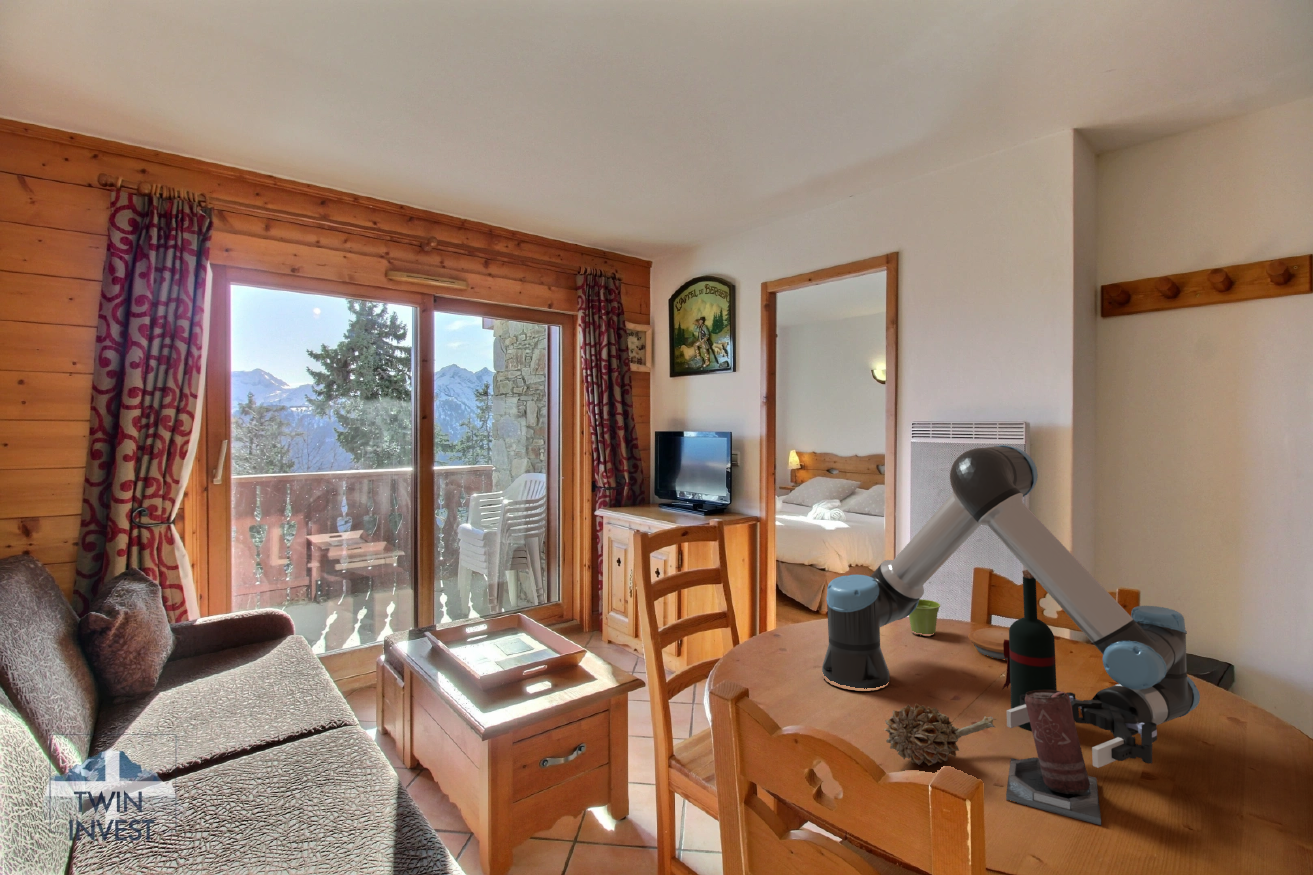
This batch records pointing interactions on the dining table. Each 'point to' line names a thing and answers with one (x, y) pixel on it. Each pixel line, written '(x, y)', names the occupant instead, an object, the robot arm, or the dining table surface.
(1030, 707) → the can
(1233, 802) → the dining table surface
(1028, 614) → the wine bottle
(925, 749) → the pine cone
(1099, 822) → the cup holder
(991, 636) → the pie
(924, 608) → the plant pot
